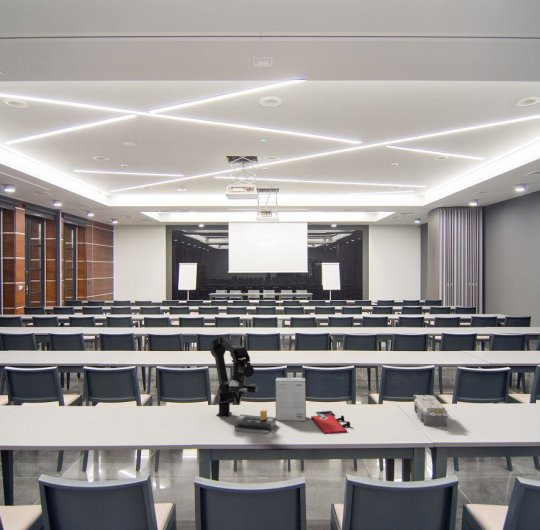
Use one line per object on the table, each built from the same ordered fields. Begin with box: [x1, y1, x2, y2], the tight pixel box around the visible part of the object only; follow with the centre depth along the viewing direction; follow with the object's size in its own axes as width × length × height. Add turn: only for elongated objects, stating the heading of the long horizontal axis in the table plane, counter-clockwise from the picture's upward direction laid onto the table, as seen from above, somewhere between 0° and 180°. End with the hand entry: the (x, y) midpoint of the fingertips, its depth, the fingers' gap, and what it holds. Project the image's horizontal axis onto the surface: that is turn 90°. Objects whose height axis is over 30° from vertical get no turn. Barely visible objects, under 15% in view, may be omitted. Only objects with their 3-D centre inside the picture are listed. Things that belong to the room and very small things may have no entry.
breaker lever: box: [259, 408, 268, 420], centre depth 202 cm, size 3×2×4 cm
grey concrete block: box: [412, 394, 450, 427], centre depth 212 cm, size 12×28×10 cm, turn 178°
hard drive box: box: [274, 377, 307, 422], centre depth 215 cm, size 16×8×20 cm, turn 84°
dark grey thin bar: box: [234, 426, 269, 435], centre depth 196 cm, size 2×16×1 cm, turn 74°
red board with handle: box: [310, 410, 351, 435], centre depth 209 cm, size 30×3×15 cm
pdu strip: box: [234, 414, 277, 432], centre depth 203 cm, size 9×18×4 cm, turn 74°
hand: (238, 404), depth 207 cm, fingers closed
